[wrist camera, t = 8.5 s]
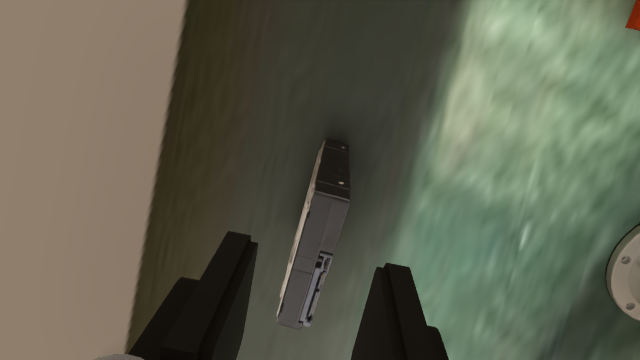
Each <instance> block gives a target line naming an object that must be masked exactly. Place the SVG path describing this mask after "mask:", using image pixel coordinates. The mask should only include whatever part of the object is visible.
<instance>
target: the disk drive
mask: <svg viewBox="0 0 640 360" xmlns="http://www.w3.org/2000/svg"><path fill="white" fill-rule="evenodd" d="M349 172H350V171H349V146H348V145H344V144H341V143H338V142H334V141H330V140H327V139H326V140H325V141H324V142H323V144H322V147H321V149H320V150H319V153H318V156H317V160H316V164H315V167H314V171H313V175H312V178H311V182H310V185H309V189H308V193H307V196H306V200H305V203H304V207H303V211H302V214H301V218H300V221H299V225H298V228H297V232H296V235H295V238H294V242H293V246H292V250H291V253H290V257H289V261H288V266H287V272H286V275H285V279H284V280H283V283H282V287H281V291H280V303H279V308H278V311H277V318H278V320H277V324H280V325H283V326H287V327H290V328H294V329H297V330H300V329H301V328H302V326H303V325H304V326H308V327H310V326H311V323H312V318H313V314H314V311H315V308H316V305H317V302H318V299H319V296H320V293H321V290H322V287H323V284H324V281H325V278H326V275H327V273H328V271H329V268H330V264H331V262H332V258H333V253H334V251H335V248H336V245H337V242H338V239H339V235H340V232H341V229H342V226H343V223H344V220H345V216H346V214H347V211H348V207H349V204H350V190H351V189H350V173H349Z"/></svg>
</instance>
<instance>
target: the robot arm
mask: <svg viewBox="0 0 640 360" xmlns="http://www.w3.org/2000/svg"><path fill="white" fill-rule="evenodd" d="M257 249H258V243H256V242H251V235H246V234H241V233H236V232H231V231H228V232H227V234H226V236H225V237H224V239H223V241H222V243H221V244H220V246H219V248H218V249H217V251H216V253H215V255H214V256H213V258H212V260H211V261H210V263H209V265H208V267H207V268H206V270H205V272H204V273H203V275H202V277H201V279H200V280H194V279H189V278H184V277H181V278H180V279H179V280H178V281H177V282H176V284H175V285H174V287H173V288H172V290H171V291H170V293H169V294H168V296H167V297H166V299H165V300H164V301H163V303H162V304H161V306H160V307H159V309H158V310H157V312H156V313H155V315H154V316H153V318H152V319H151V321H150V322H149V324H148V325H147V327H146V328H145V330H144V331H143V333H142V334H141V336H140V337H139V339H138V340H137V342H136V343H135V345H134V346H133V348H132V349H131V351H130V352H129V354H128V355H126V354H116V355H115V354H114V355H109V356H104V357H99V358H97V359H94V360H236V358H237V355H238V351H239V348H240V345H241V341H242V337H243V333H244V327H245V321H246V315H247V309H248V303H249V297H250V291H251V285H252V279H253V273H254V267H255V261H256V255H257ZM606 281H607V288H608V291H609V293H610V296H611V297H612V299H613V300H614V302H615V303H616V304H617V305H618V306H619V307H620V308H621V309H622V310H623V311H624V312H625V313H626V314H628V315H629V316H631V317H632V318H634V319H636V320H638V321H640V225H639V226H637V227H636V228H635V229H633V230H632V231H631V232H630V233H629V234H628V235H626V236H625V237H624V239H623V240H622V241H621V242H620V243H619V245H618V246H617V247H616V249H615V251H614V252H613V254H612V256H611V258H610V261H609V264H608V267H607V274H606ZM351 360H449V359H448V356H447V353H446V350H445V347H444V344H443V341H442V338H441V335H440V332H439V330H438V329H437V328H436V327H432V326H427V324H426V321H425V317H424V314H423V310H422V307H421V304H420V300H419V297H418V294H417V290H416V287H415V284H414V280H413V277H412V274H411V270H410V268H409V267H406V266H401V265H396V264H391V263H386V264H385V266H384V268H381V267H377V268H376V270H375V273H374V277H373V281H372V284H371V288H370V291H369V295H368V298H367V302H366V305H365V309H364V313H363V316H362V320H361V323H360V327H359V330H358V334H357V337H356V341H355V345H354V348H353V352H352V356H351Z"/></svg>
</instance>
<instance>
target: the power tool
mask: <svg viewBox="0 0 640 360" xmlns="http://www.w3.org/2000/svg"><path fill="white" fill-rule="evenodd" d="M625 28H630V29H635V30H640V0H637V1H636V3H635V5H634V8H633V10H632V13H631V15H630V18H629V20H628V23H627V25H626V27H625Z"/></svg>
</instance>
